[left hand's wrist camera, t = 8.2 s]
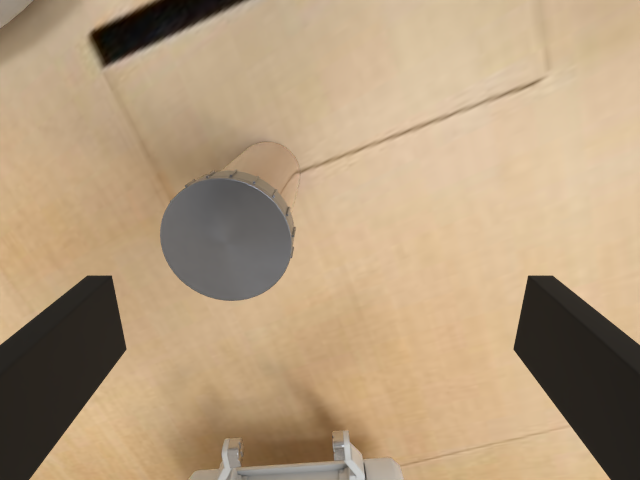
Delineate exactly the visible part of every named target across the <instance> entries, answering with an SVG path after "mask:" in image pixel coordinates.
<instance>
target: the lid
mask: <svg viewBox="0 0 640 480" xmlns="http://www.w3.org/2000/svg"><path fill="white" fill-rule="evenodd" d="M185 187H186V188H185V189H183V190H182V191H181V192H179V193H178V194H177V195H176V196H175V197H174V198H173V199H172V200H171V201H170V204H169V205H168V207H167V209H166V211H165V213H164V216H163V218H162V223H161V230H160V238H161V246H162V250H163V253H164V256H165V258H166V261H167V262H168V264H169V266H170V268H171V269H172V270H173V272H174V273H175V274H176V275H177V277H178V278H179V279H180V280H181V281H182V282H184V283H185V284H186V285H187V286H189V287H190V288H191V289H193V290H195V291H197V292H198V293H200V294H203V295H205V296H208V297H211V298H214V299H219V300H228V301H235V300H244V299H249V298H252V297H255V296H257V295H260V294H262V293H264V292H265V291H267V290H268V289H270V288H271V287H272V286H273V285H275V284H276V283H277V282H278V280H279V279H280V278H281V277H282V275H283V274H284V272H285V270H286V268H287V266H288V264H289V261H290V258H292V255H293V250H294V247H293V241H294V236H295V230H296V227H294V222H293V218H292V215H291V212H290V209H291V208H290V207H288V205H287V204H286V202H285V200H284V199H283V198H282V196H281V195H280V194H279V193H278V192H277V191H278V190H277V189H275V188H273V187H272V186H271V185H270V184H268V183H267V182H265V181H264V180H262V179H261V178H259V176H257V177H256V176H254V175H251V174H248V173H245V172H240V171H237V169H235V170H234V171H230V170H227V171H218V172H215V171H212V172H211V173H209V174H207V175H204V176H202V177H200V178H199V179H197V180H195V179H194V180H192V181H191V182H190V183H188V184H187V185H185Z"/></svg>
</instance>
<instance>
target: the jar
mask: <svg viewBox="0 0 640 480" xmlns="http://www.w3.org/2000/svg"><path fill="white" fill-rule="evenodd" d="M235 169H237V171H240V172H245V173H248V174H251V175H254V176H256V177H257V176H259V178H261V179H262V180H264V181H265V182H267V183H268V184H270V185H271V186H272V187H273V188H275V189H277V190H278V191H277V192H278V193H279V194H280V195H281V196H282V198H283V199H284V200H285V202H286V204H287V205H288V207H290V208H291V209H290V212H291V215H292V211H293V207H294V203H295V199H296V195H297V190H298V186H299V182H300V168H299V164H298V162H297V160H296V158H295V156H294V155H293V154H292V153H291V152H290V151H289V150H288V149H287V148H286V147H284V146H282V145H280V144H278V143H274V142H260V143H256V144H254V145H252V146H250V147H249V148H248V149H246V150H245V151H244V152H243V153H241V154H240V155H239V156H238V157H237V158H235V159H234V160H233V161H232V162H231V163H229V164H228V165H227V166H226V167H225V168H223V169H222V170H221V171H227V170H230V171H234V170H235Z"/></svg>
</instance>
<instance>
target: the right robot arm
mask: <svg viewBox="0 0 640 480" xmlns="http://www.w3.org/2000/svg"><path fill="white" fill-rule="evenodd" d="M332 438H333V439H332V441H333V453H334V461H324V462H309V463H295V464H280V465H265V466H251V467H241V465H242V457H243V455H244V445H243V444H242V441H243V440H242V438H226V439H225V440H224V443H223V447H222V462H221V463H220V467H219V469H206V470H196V471H195V472H194V473H193V474H192V475H191V476H190V478H189V479H188V480H404V478H403V474H402V470H401V467H400V465H399V464H398V463H397V462H396V461H395V460H394V459H392V458H390V457H382V458H368V459H363V457H362V454H361V453H360V452H359V450H358V449H357V448H356V447H355V446H354V445H353V444H352V443H350V440H349V431H348V430H341V431H332Z"/></svg>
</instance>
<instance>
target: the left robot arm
mask: <svg viewBox="0 0 640 480" xmlns="http://www.w3.org/2000/svg"><path fill="white" fill-rule="evenodd" d="M125 351H126V344H125V339H124V334H123V329H122V324H121V319H120V314H119V309H118V305H117V300H116V295H115V290H114V285H113V280H112V276H86V277H85V278H84V279H83V280H81V281H80V282H79V283H78V284H76V285H75V286H74V287H73V288H71V289H70V290H69V291H68V292H66V293H65V294H64V295H63V296H61V297H60V298H59V299H58V300H56V301H55V302H54V303H53V304H51V305H50V306H49V307H48V308H46V309H45V310H44V311H42V312H41V313H40V314H39V315H37V316H36V317H35V318H34V319H32V320H31V321H30V322H29V323H27V324H26V325H25V326H24V327H22V328H21V329H20V330H19V331H17V332H16V333H15V334H14V335H12V336H11V337H10V338H9V339H7V340H6V341H5V342H4V343H2V344H1V345H0V480H29V479H30V478H31V476H32V475H33V474H34V472H35V471H36V470H37V468H38V467H39V466H40V464H41V463H42V462H43V460H44V459H45V458H46V456H47V455H48V454H49V452H50V451H51V450H52V448H53V447H54V446H55V444H56V443H57V442H58V440H59V439H60V438H61V436H62V435H63V434H64V432H65V431H66V430H67V428H68V427H69V426H70V424H71V423H72V422H73V420H74V419H75V418H76V416H77V415H78V414H79V412H80V411H81V410H82V408H83V407H84V406H85V404H86V403H87V402H88V400H89V399H90V398H91V396H92V395H93V393H94V392H95V391H96V389H97V388H98V387H99V385H100V384H101V383H102V381H103V380H104V379H105V377H106V376H107V375H108V373H109V372H110V371H111V369H112V368H113V367H114V365H115V364H116V363H117V361H118V360H119V359H120V357H121V356H122V355H123V353H124V352H125ZM514 351H515V352H516V353H517V355H518V356H519V357H520V359H521V360H522V361H523V363H524V364H525V365H526V367H527V368H528V369H529V371H530V372H531V373H532V375H533V376H534V377H535V379H536V380H537V381H538V383H539V384H540V385H541V387H542V388H543V389H544V391H545V392H546V393H547V395H548V396H549V398H550V399H551V400H552V402H553V403H554V404H555V406H556V407H557V408H558V410H559V411H560V412H561V414H562V415H563V416H564V418H565V419H566V420H567V422H568V423H569V424H570V426H571V427H572V428H573V430H574V431H575V432H576V434H577V435H578V436H579V438H580V439H581V440H582V442H583V443H584V444H585V446H586V447H587V448H588V450H589V451H590V452H591V454H592V455H593V456H594V458H595V459H596V460H597V462H598V463H599V464H600V466H601V467H602V468H603V470H604V471H605V472H606V474H607V475H608V476H609V478H610V479H611V480H640V345H639V344H638V343H636V342H635V341H634V340H633V339H631V338H630V337H629V336H628V335H626V334H625V333H624V332H623V331H621V330H620V329H619V328H618V327H616V326H615V325H614V324H613V323H611V322H610V321H609V320H608V319H606V318H605V317H604V316H603V315H601V314H600V313H599V312H598V311H596V310H595V309H594V308H592V307H591V306H590V305H589V304H587V303H586V302H585V301H584V300H582V299H581V298H580V297H579V296H577V295H576V294H575V293H574V292H572V291H571V290H570V289H569V288H567V287H566V286H565V285H564V284H562V283H561V282H560V281H559V280H557V279H556V278H555V277H554V276H528V280H527V285H526V290H525V295H524V300H523V304H522V309H521V314H520V319H519V324H518V329H517V334H516V339H515V344H514Z"/></svg>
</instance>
